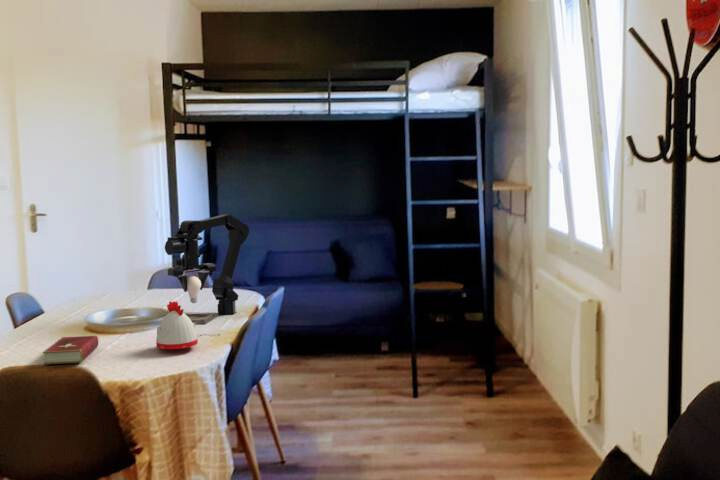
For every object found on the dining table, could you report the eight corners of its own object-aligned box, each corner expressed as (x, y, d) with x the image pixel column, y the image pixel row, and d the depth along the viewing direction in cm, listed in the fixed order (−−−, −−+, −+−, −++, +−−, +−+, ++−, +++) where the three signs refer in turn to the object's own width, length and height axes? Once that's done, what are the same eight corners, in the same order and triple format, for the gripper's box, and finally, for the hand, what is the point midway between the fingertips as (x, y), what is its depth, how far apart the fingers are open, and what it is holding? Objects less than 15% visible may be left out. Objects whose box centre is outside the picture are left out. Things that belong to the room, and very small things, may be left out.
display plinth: (217, 316, 299) (217, 313, 299) (205, 324, 285) (205, 320, 285) (184, 316, 301) (184, 313, 301) (171, 324, 287) (170, 320, 287)
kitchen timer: (181, 337, 263) (179, 296, 262) (205, 342, 255) (203, 300, 253) (148, 345, 253) (146, 303, 251) (172, 351, 244) (170, 306, 243)
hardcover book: (98, 346, 255) (98, 334, 255) (82, 362, 234) (81, 349, 234) (63, 348, 254) (62, 336, 253) (43, 364, 233) (42, 351, 233)
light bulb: (184, 305, 289) (182, 277, 288) (186, 302, 295) (185, 275, 294) (201, 304, 289) (199, 276, 288) (203, 301, 296) (201, 274, 295)
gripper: (201, 248, 302) (203, 285, 304) (159, 253, 290) (162, 292, 292) (215, 250, 294) (217, 288, 296) (173, 255, 282) (175, 295, 283)
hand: (193, 290), depth 292 cm, fingers closed on light bulb, 6 cm apart
